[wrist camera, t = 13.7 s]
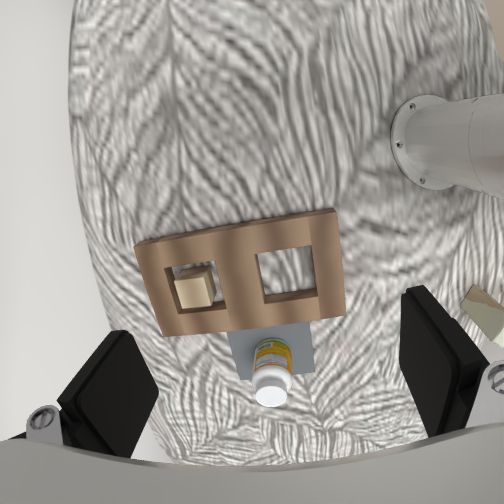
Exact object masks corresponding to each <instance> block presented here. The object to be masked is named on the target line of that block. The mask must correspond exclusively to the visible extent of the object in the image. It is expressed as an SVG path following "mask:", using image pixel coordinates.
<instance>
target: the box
mask: <svg viewBox="0 0 504 504" xmlns="http://www.w3.org/2000/svg"><path fill="white" fill-rule="evenodd" d="M460 306H461V308H462V309H463V310H464V311H465V312H466V313H467V314H468V315H469V316H470V318H471V319H472V320H473V321H474V322H475V323H476V324H477V326H478V327H479V328H480V329H481V330H482V331H483V333H484V334H485V335H486V336H487V337H488V338H489V340H490V341H491V342H492V343H493V344H495V345H497V346H499V347H501V348H503V349H504V308H503V307H502V306H501V305H500V304H499V303H498V302H497V301H496V300H495V299H493V298H492V297H491V296H490V295H489V294H488V293H486V292H485V291H483V290H482V289H480V288H479V287H477V286H475V285H473V286H472V287H471V289H470V291H469V292H468V294H467V295H466V297H465V299H464V300H463V302H462V303H461V305H460Z"/></svg>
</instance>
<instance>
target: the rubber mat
mask: <svg viewBox="0 0 504 504" xmlns="http://www.w3.org/2000/svg"><path fill="white" fill-rule="evenodd" d="M227 336H228V339H229V343H230V346H231V350H232V353H233V357H234V360H235V363H236V367H237V370H238V374H239V377H240V380H248V379H252V373H253V364H254V356H255V350H256V347H257V346H258V344H259V343H261V342H262V341H264V340H267V339H279V340H282V341H284V342H285V343H287V344H288V346H289V347H290V349H291V358H292V375H296V374H303V373H311V372H315V367H314V357H313V349H312V340H311V331H310V323H309V321H307V322H300V323H293V324H286V325H279V326H271V327H263V328H255V329H246V330H237V331H227Z"/></svg>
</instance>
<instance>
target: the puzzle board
mask: <svg viewBox="0 0 504 504" xmlns="http://www.w3.org/2000/svg"><path fill="white" fill-rule="evenodd" d="M308 245H311V252H312V260H313V268H314V275H315V284H316V288H313V289H307V290H300V291H294V292H287V293H280V294H273V295H266V296H265V292H264V287H263V282H262V277H261V272H260V267H259V262H258V257H257V253H264V252H270V251H276V250H283V249H289V248H296V247H302V246H308ZM133 248H134V251H135V254H136V258H137V261H138V264H139V267H140V271H141V274H142V277H143V280H144V283H145V286H146V289H147V292H148V295H149V298H150V301H151V304H152V306H153V309H154V312H155V315H156V318H157V320H158V323H159V326H160V328H161V331H162V334H163V336H164V337H168V336H182V335H195V334H207V333H217V332H227V331H237V330H246V329H255V328H263V327H271V326H279V325H286V324H293V323H300V322H307V321H314V320H320V319H326V318H332V317H338V316H344V315H346V305H345V290H344V278H343V266H342V255H341V245H340V236H339V227H338V219H337V212H336V211H335V210H334V209H333V208H330V209H324V210H317V211H311V212H304V213H298V214H292V215H285V216H279V217H273V218H267V219H261V220H255V221H249V222H243V223H238V224H232V225H226V226H220V227H215V228H209V229H204V230H198V231H193V232H187V233H182V234H177V235H171V236H166V237H161V238H156V239H150V240H145V241H141V242H139V243H138V244H137V245H135V246H134V247H133ZM212 260H215V264H216V268H217V272H218V276H219V280H220V284H221V288H222V292H223V296H224V300H225V301H220V302H213V303H212V305H211V306H204V307H194V308H185V309H182V306H181V303H180V300H179V296H178V293H177V290H176V286H175V283H174V280H175V278H174V274H173V271H172V268H171V267H173V266H180V265H186V264H193V263H199V262H206V261H212Z"/></svg>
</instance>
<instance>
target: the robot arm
mask: <svg viewBox="0 0 504 504" xmlns="http://www.w3.org/2000/svg"><path fill="white" fill-rule="evenodd" d="M410 106H411V108H410ZM397 143H398V144H399V146H398V147H397V145H396V144H397ZM391 145H392V150H393V154H394V157H395V159H396V162H397V164H398V166H399V167H400V169H401V170H402V172H403V173H404V174H405V175H406V176H407V177H408V178H409V179H410V180H411V181H412V182H414V183H415V184H417V185H419V186H421V187H423V188H427V189H430V190H444V189H447V188H450V187H452V186H453V185H455V184H456V185H459V186H462V187H466V188H469V189H472V190H475V191H478V192H481V193H485V194H488V195H491V196H494V197H496V198H499V199H502V200H504V93H502V94H495V95H488V96H482V97H475V98H469V99H463V100H458V101H452V102H449V101H447V100H446V99H444V98H441V97H439V96H435V95H420V96H417V97H414V98H412V99H410V100H408V101H407V102H406V103H404V104H403V105H402V106H401V108H400V109H399V110H398V112H397V113H396V116H395V118H394V120H393V124H392V128H391ZM420 178H421V181H420ZM399 364H400V368H401V371H402V373H403V375H404V377H405V380H406V382H407V385H408V387H409V389H410V392H411V394H412V397H413V399H414V401H415V404H416V406H417V409H418V411H419V414H420V416H421V419H422V422H423V424H424V427H425V429H426V432H427V435H428V438H427V439H423V440H420V441H416V442H412V443H409V444H405V445H401V446H397V447H393V448H388V449H384V450H379V451H374V452H369V453H364V454H359V455H354V456H348V457H342V458H336V459H329V460H322V461H314V462H305V463H295V464H283V465H266V466H199V465H183V464H171V463H161V462H152V461H144V460H137V459H130V458H131V455H132V453H133V451H134V449H135V447H136V444H137V442H138V440H139V438H140V435H141V433H142V431H143V429H144V427H145V424H146V422H147V420H148V418H149V415H150V413H151V411H152V409H153V407H154V404H155V402H156V400H157V398H158V395H159V390H158V387H157V385H156V383H155V381H154V379H153V377H152V375H151V373H150V371H149V369H148V367H147V365H146V363H145V361H144V359H143V357H142V355H141V352H140V350H139V348H138V346H137V344H136V342H135V339H134V337H133V335H132V334H130V333H129V332H128V331H126V330H116V331H111V332H110V333H109V334H108V335H107V337H106V338H105V339H104V340H103V341H102V343H101V344H100V345H99V346H98V348H97V349H96V350H95V351H94V353H93V354H92V355H91V356H90V358H89V359H88V360H87V361H86V363H85V364H84V365H83V366H82V368H81V369H80V370H79V372H78V373H77V374H76V375H75V377H74V378H73V379H72V381H71V382H70V383H69V384H68V386H67V387H66V389H65V390H64V391H63V393H62V394H61V395H60V396H59V398H58V399H57V402H58V403H59V404H60V406H61V408H62V409H61V410H60V411H59V410H58V408H56V407H55V406H53V405H46V406H42V407H40V408H38V409H37V410H35V411H34V412H33V413H32V414H31V415H30V417H29V419H28V420H27V425H26V432H24V433H22V434H19V435H17V436H15V437H12V438H10V439H8V440H4V441H1V442H0V504H504V360H501V361H496V362H494V363H492V364H490V363H489V362H488V361H487V359H486V358H485V357H484V355H483V354H482V353H481V351H480V350H479V349H478V347H477V346H476V345H475V343H474V342H473V341H472V340H471V338H470V337H469V336H468V334H467V333H466V332H465V331H464V329H463V328H462V327H461V326H460V324H459V323H458V322H457V321H456V320H455V319H454V318H451V317H450V315H449V314H448V313H447V312H446V311H445V309H444V308H443V307H442V306H441V305H440V303H439V302H438V301H437V300H436V299H435V297H434V296H433V295H432V294H431V293H430V292H429V291H428V289H427V288H426V287H425V286H424V285H420V286H415V287H411V288H407V289H406V293H404V294H402V295H401V328H400V350H399Z"/></svg>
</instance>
